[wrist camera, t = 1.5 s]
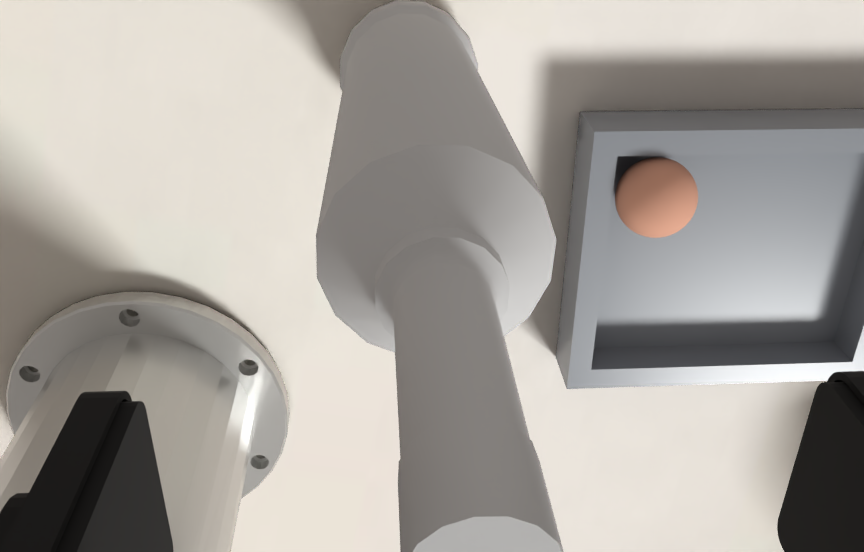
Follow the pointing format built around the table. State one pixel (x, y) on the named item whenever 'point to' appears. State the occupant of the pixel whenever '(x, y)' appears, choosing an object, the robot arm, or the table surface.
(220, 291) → the table surface
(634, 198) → the ball
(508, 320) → the bottle
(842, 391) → the robot arm
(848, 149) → the tray
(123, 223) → the table surface
